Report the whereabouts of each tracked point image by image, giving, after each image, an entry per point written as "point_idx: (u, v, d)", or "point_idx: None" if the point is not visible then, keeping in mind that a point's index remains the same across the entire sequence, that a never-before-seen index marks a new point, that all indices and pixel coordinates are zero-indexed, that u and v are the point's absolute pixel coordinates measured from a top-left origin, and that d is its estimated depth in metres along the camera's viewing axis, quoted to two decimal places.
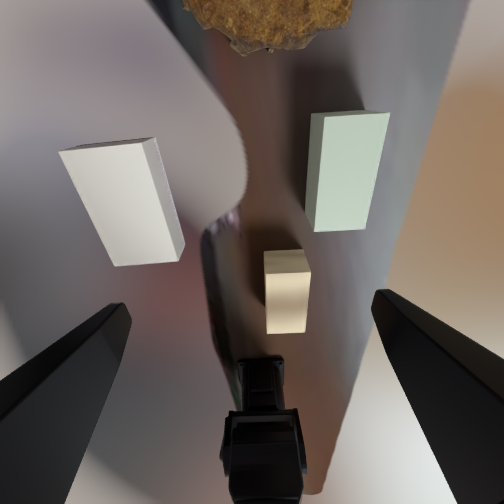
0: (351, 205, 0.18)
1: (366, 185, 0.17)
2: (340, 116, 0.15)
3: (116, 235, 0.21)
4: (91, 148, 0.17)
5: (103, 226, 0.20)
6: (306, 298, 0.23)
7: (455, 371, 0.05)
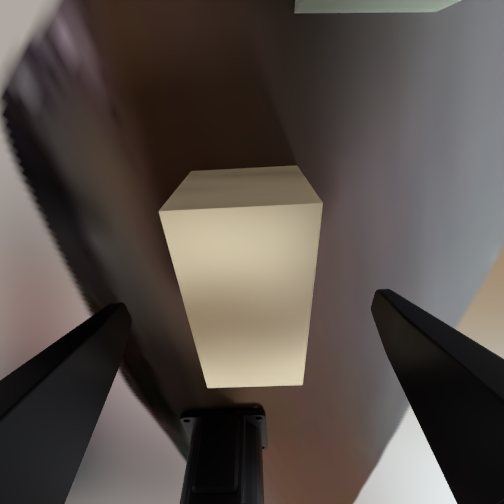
0: None
1: None
2: None
3: None
4: None
5: None
6: (306, 299, 0.08)
7: (455, 371, 0.05)
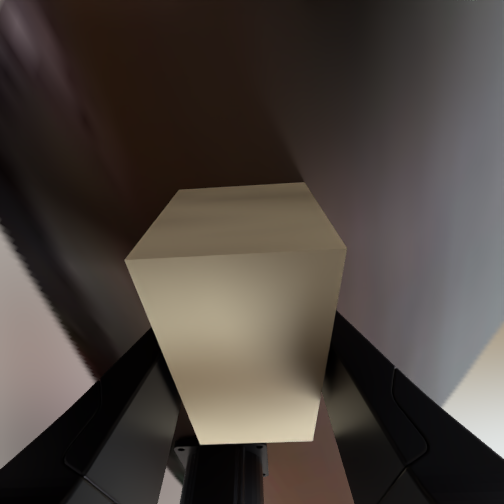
0: None
1: None
2: None
3: None
4: None
5: None
6: (320, 357, 0.06)
7: (345, 376, 0.05)
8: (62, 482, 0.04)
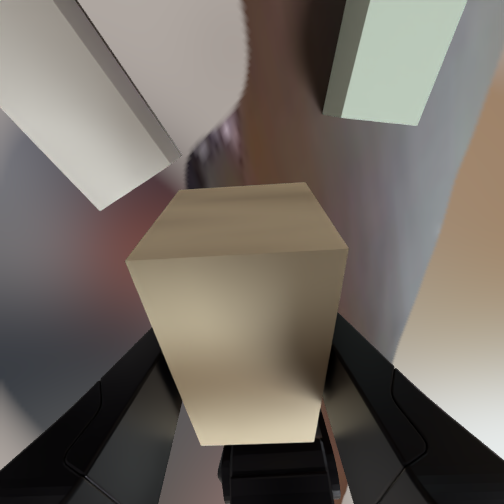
0: (408, 72, 0.11)
1: (441, 33, 0.11)
2: None
3: (75, 156, 0.14)
4: None
5: (54, 148, 0.14)
6: (322, 358, 0.06)
7: (344, 376, 0.05)
8: (63, 482, 0.04)
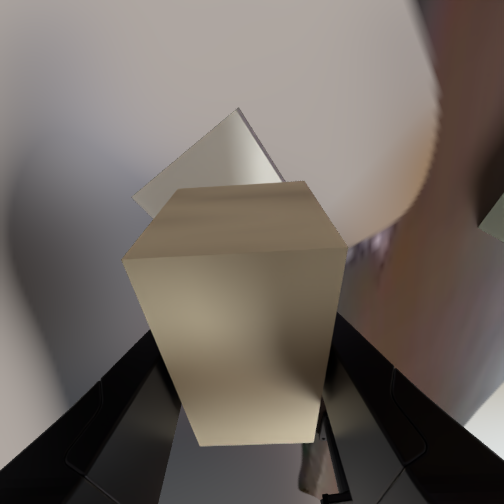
0: None
1: None
2: None
3: None
4: (169, 166, 0.11)
5: None
6: (321, 358, 0.06)
7: (344, 376, 0.05)
8: (63, 481, 0.04)
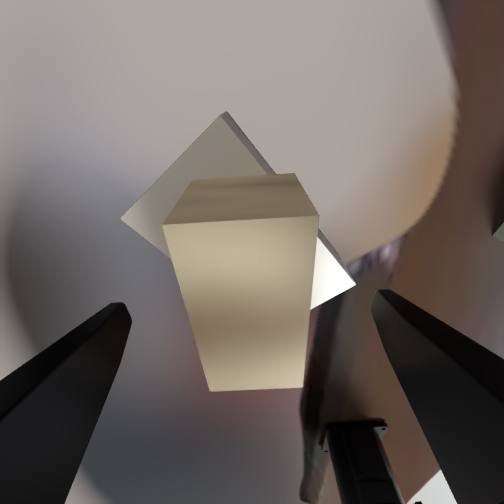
0: None
1: None
2: None
3: None
4: None
5: None
6: (305, 305, 0.08)
7: (455, 371, 0.05)
8: None
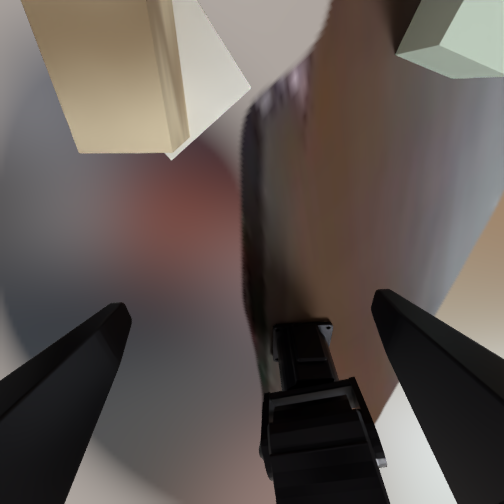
0: None
1: None
2: None
3: None
4: None
5: None
6: None
7: (455, 371, 0.05)
8: None
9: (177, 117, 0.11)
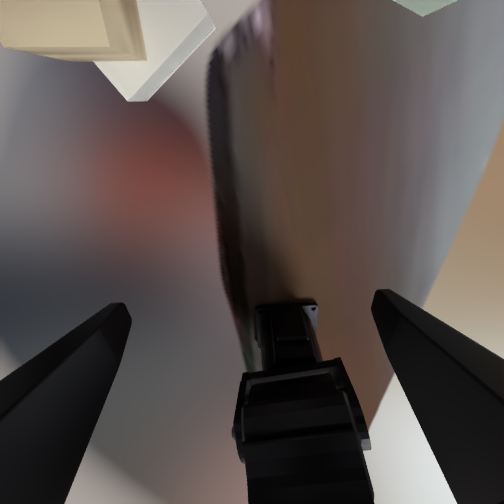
0: None
1: None
2: None
3: None
4: None
5: None
6: None
7: (455, 371, 0.05)
8: None
9: (122, 17, 0.10)
